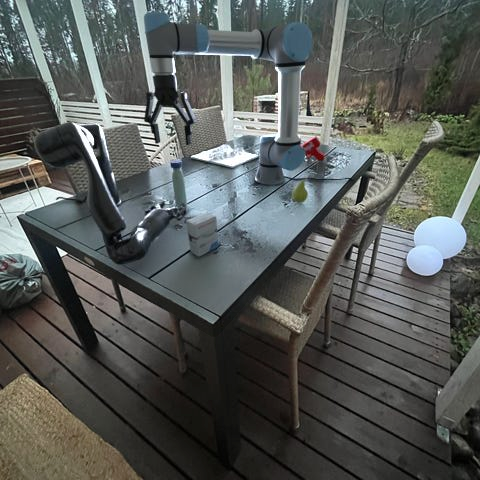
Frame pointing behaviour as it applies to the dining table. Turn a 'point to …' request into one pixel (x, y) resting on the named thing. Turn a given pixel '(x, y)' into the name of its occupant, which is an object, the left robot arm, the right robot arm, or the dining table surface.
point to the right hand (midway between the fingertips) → (173, 143)
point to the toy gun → (313, 149)
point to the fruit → (300, 192)
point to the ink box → (202, 233)
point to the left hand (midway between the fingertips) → (173, 203)
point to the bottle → (179, 187)
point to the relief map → (225, 156)
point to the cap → (176, 164)
